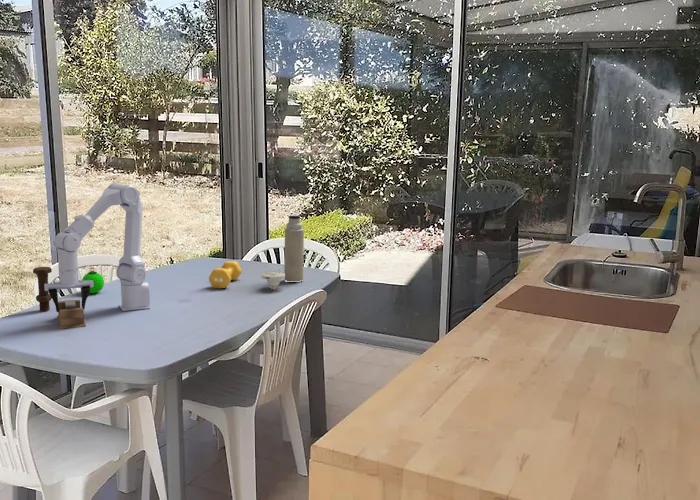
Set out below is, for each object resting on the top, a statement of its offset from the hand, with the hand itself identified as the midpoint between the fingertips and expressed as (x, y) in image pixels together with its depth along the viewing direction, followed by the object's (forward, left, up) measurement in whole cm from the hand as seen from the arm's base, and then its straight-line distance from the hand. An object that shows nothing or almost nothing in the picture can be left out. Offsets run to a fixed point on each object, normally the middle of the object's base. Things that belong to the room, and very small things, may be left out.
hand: (70, 310), depth 213 cm
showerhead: (-77, -17, -4) cm, 79 cm away
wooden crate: (0, 0, -4) cm, 4 cm away
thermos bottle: (-90, -27, -4) cm, 94 cm away
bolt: (+7, -17, -4) cm, 19 cm away
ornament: (-11, -36, -4) cm, 37 cm away
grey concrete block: (0, 0, -3) cm, 3 cm away
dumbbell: (-62, -32, -4) cm, 70 cm away
